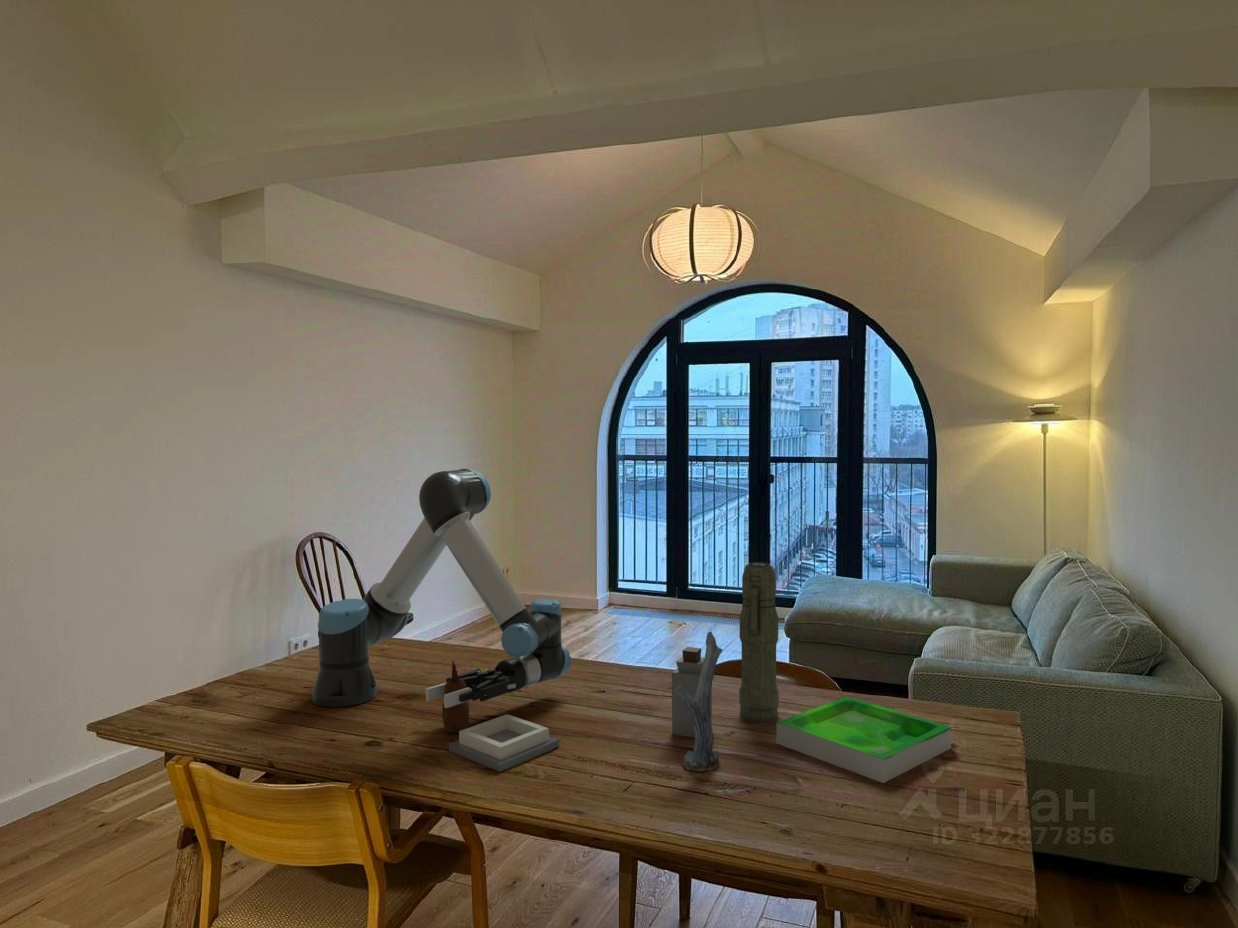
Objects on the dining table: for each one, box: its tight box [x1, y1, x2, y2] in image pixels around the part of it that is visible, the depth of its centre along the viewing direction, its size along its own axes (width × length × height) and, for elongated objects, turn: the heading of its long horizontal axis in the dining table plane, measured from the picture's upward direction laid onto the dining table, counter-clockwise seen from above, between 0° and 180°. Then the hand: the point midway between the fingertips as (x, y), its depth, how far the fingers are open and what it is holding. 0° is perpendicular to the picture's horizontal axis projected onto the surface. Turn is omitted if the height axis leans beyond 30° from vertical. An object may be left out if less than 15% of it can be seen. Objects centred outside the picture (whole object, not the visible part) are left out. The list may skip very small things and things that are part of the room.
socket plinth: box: [448, 713, 560, 773], centre depth 165 cm, size 16×16×4 cm
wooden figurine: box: [441, 660, 470, 734], centre depth 175 cm, size 7×6×15 cm
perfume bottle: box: [671, 646, 713, 739], centre depth 174 cm, size 7×7×18 cm
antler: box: [675, 631, 723, 772], centre depth 157 cm, size 12×8×25 cm
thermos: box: [738, 561, 780, 722], centre depth 183 cm, size 9×12×35 cm
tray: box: [776, 696, 952, 784], centre depth 165 cm, size 25×25×5 cm
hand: (436, 698), depth 171 cm, fingers open, 6 cm apart
